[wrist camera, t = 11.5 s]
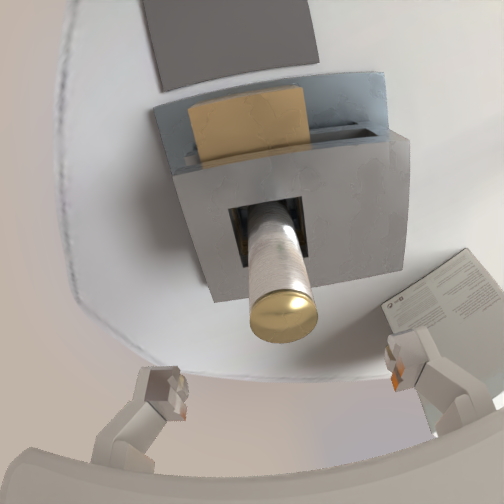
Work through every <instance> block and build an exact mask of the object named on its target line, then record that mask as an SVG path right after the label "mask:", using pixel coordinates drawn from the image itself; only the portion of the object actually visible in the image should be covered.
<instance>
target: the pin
mask: <svg viewBox="0 0 504 504" xmlns="http://www.w3.org/2000/svg"><path fill="white" fill-rule="evenodd" d="M247 220H248V263H249V304H250V327H251V329H252V331H253V333H254V334H255V335H256V336H257V337H259V338H260V339H262V340H264V341H267V342H271V343H289V342H293V341H296V340H299V339H301V338H303V337H305V336H306V335H308V334H309V333H310V332H311V331H312V330H313V329H314V327H315V326H316V324H317V320H318V314H317V309H316V306H315V302H314V298H313V294H312V290H311V286H310V282H309V279H308V275H307V271H306V267H305V264H304V260H303V256H302V253H301V249H300V246H299V242H298V239H297V235H296V231H295V228H294V225H293V221H292V218H291V214H290V211H289V207H288V204H287V201H286V199H281V200H275V201H269V202H263V203H257V204H252V205H247Z"/></svg>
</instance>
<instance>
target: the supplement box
mask: <svg viewBox="0 0 504 504" xmlns="http://www.w3.org/2000/svg"><path fill="white" fill-rule="evenodd" d="M381 307H382V310H383V312H384V314H385V316H386V319H387V321H388V323H389V325H390V327H391V330H392V332H393V334H394V333H397V332H401V331H405V330H409V329H414V328H417V327H420V326H425V327H426V328H427V329H428V331H429V333H430V335H431V337H432V339H433V341H434V344H435V346H436V348H437V350H438V352H439V354H440V356H441V358H442V357H445V358H447V359H448V360H450V361H451V362H453V363H454V364H456V365H457V366H459V367H460V368H462V369H463V370H465V371H466V372H468V373H469V374H471V375H472V376H474V377H475V378H477V379H478V380H480V381H481V382H483V383H484V384H485V385H486V387H487V389H488V391H489V394H490V396H491V398H492V400H493V403H494V405H495V408H496V410H498V409H500V408H502V407H504V291H503V290H502V289H501V288H500V286H499V285H498V284H497V282H496V281H495V280H494V279H493V277H492V276H491V275H490V274H489V273H488V271H487V270H486V269H485V268H484V267H483V265H482V264H481V263H480V262H479V261H478V260H477V258H476V257H475V256H474V255H473V254H472V252H471V251H470V250H469V249H468V248H466V249H464V250H463V251H461V252H460V253H459V254H457V255H456V256H455V257H453V258H452V259H450V260H449V261H448V262H446V263H445V264H443V265H442V266H440V267H439V268H438V269H436V270H435V271H433V272H432V273H430V274H429V275H427V276H426V277H424V278H423V279H421V280H420V281H418V282H417V283H415V284H413V285H412V286H410V287H409V288H407V289H406V290H404V291H403V292H401V293H399V294H398V295H396V296H395V297H393V298H391V299H390V300H388V301H386V302H385V303H383V304H382V305H381ZM417 393H418V395H419V398H420V401H421V403H422V407H423V410H424V413H425V416H426V419H427V422H428V424H429V428H430V431H431V434H433V435H434V436H435V437H436V438H437V437H438V435H437V432H436V428H435V425H436V423H437V422H438V420H439V419H440V418H441V417H442V415H443V413H441V412H440V411H439V410H438V409H437V408H436V407H435V406H434V405H433V404H431V403H430V402H429V401H428V400H427V399H426V398H425V397H424V396H422V395H421V394H420V393H419V392H418V391H417Z"/></svg>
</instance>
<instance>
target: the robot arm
mask: <svg viewBox="0 0 504 504" xmlns="http://www.w3.org/2000/svg"><path fill="white" fill-rule="evenodd" d="M387 341H388V345H387V346H386V348H385V362H386V366H387V369H388V370H389V371H391V372H392V376H391V381H392V384H393V387H394V390H395V392H398V391H402V390H405V389H410V388H413V387H415V389H416V390H417V391H418V392H419V393H420V394H421V395H422V396H424V397H425V398H426V399H427V400H428V401H429V402H430V403H431V404H433V405H434V406H435V407H436V408H437V409H438V410H439V411H440V412H441V413H443V415H442V417H441V418H440V419H439V420H438V422H437V423H436V425H435V428H436V432H437V435H438V437H437V438H434V439H432V440H429V441H426V442H423V443H421V444H418V445H415V446H412V447H409V448H406V449H402V450H399V451H396V452H393V453H389V454H386V455H382V456H378V457H375V458H371V459H367V460H362V461H358V462H354V463H349V464H344V465H340V466H334V467H329V468H323V469H317V470H311V471H303V472H296V473H287V474H278V475H265V476H249V477H189V476H173V475H162V474H154V467H155V462H154V461H153V460H152V459H150V458H149V457H148V456H146V455H145V453H146V451H147V450H148V448H149V447H150V446H151V444H152V443H153V441H154V440H155V439H156V437H157V436H158V434H159V433H160V431H161V430H162V428H163V427H164V426H165V424H166V423H167V422H166V421H185V420H186V412H187V406H186V404H185V403H184V402H185V400H186V399H187V398H188V393H189V390H188V383H187V380H186V378H185V377H184V376H183V375H181V374H180V369H179V368H178V366H158V367H154V366H152V367H141V369H140V370H139V373H138V378H137V382H136V386H135V391H134V395H133V399H132V401H129V402H128V403H127V404H126V405H125V406H124V407H123V408H122V409H121V410H120V412H118V413H117V415H116V416H115V417H114V418H113V419H112V420H111V421H110V422H109V423H108V424H107V426H105V427H104V429H103V430H102V431H101V432H100V433H99V434H98V435H97V436H96V440H95V444H94V448H93V454H92V458H91V462H90V463H88V462H83V461H79V460H75V459H71V458H67V457H64V456H60V455H56V454H53V453H50V452H47V451H43V450H41V449H38V448H33V447H30V448H27V449H26V450H24V451H23V452H22V453H21V454H20V455H19V456H18V457H16V458H15V459H14V460H13V461H12V462H11V463H10V465H9V466H8V468H7V471H6V473H5V476H4V479H3V482H2V486H1V490H0V504H504V407H502V408H500V409H498V410H496V408H495V405H494V403H493V400H492V398H491V396H490V394H489V391H488V389H487V387H486V385H485V384H484V383H483V382H481V381H480V380H478V379H477V378H475V377H474V376H472V375H471V374H469V373H468V372H466V371H465V370H463V369H462V368H460V367H459V366H457V365H456V364H454V363H453V362H451V361H450V360H448V359H447V358H445V357H442V358H441V356H440V354H439V352H438V350H437V348H436V346H435V344H434V341H433V339H432V337H431V335H430V333H429V331H428V329H427V328H426V327H425V326H420V327H417V328H414V329H409V330H405V331H401V332H397V333H394V334H390V335H389V336H388V339H387Z"/></svg>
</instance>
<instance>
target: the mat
mask: <svg viewBox="0 0 504 504" xmlns="http://www.w3.org/2000/svg"><path fill="white" fill-rule="evenodd" d="M143 4H144V8H145V13H146V17H147V22H148V27H149V31H150V35H151V40H152V44H153V48H154V53H155V57H156V61H157V65H158V69H159V73H160V77H161V81H162V85H163V89H164V92H165V91H169V90H172V89H176V88H179V87H183V86H186V85H190V84H194V83H198V82H202V81H206V80H211V79H215V78H220V77H224V76H229V75H234V74H239V73H245V72H250V71H256V70H262V69H269V68H276V67H283V66H291V65H300V64H310V63H320V62H319V56H318V51H317V45H316V40H315V35H314V30H313V25H312V20H311V15H310V11H309V6H308V2H307V0H143Z"/></svg>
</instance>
